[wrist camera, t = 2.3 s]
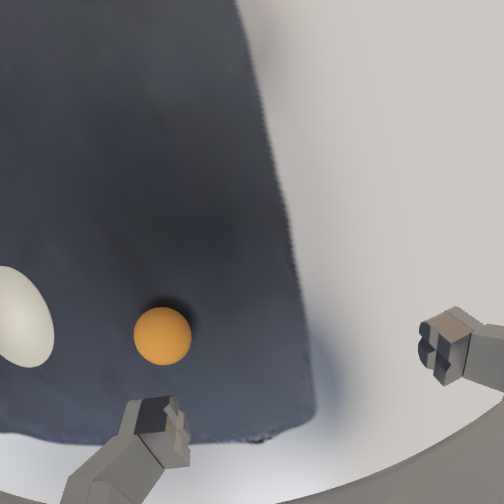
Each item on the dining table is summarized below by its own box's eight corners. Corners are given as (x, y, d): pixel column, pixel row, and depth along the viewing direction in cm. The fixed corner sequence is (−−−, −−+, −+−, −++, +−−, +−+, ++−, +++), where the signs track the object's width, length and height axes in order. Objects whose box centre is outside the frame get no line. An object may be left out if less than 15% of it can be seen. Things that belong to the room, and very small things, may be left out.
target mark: (31, 383, 29) (31, 384, 29) (-33, 314, 26) (-34, 314, 26) (72, 322, 29) (71, 323, 28) (-2, 242, 26) (-3, 242, 26)
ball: (170, 357, 31) (164, 386, 25) (129, 324, 30) (116, 349, 24) (203, 323, 31) (203, 349, 25) (162, 288, 29) (152, 308, 24)
